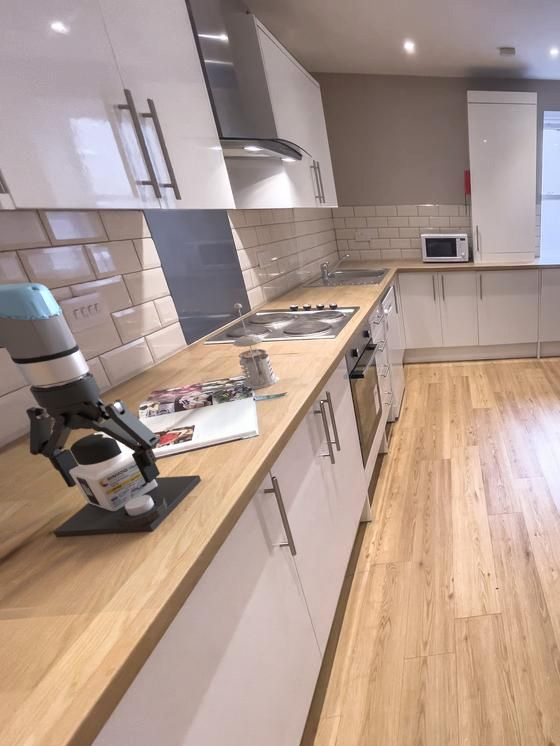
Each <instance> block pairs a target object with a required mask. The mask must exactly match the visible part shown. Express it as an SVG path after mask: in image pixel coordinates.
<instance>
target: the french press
mask: <svg viewBox="0 0 560 746" xmlns="http://www.w3.org/2000/svg"><path fill="white" fill-rule="evenodd" d="M233 308H234V309H238V310H237V311H238V312H239V316H240V319H241V322H242V325H243V329H244V332H245V335H242V336H240V337H237V339H235V340H234V341H233V342H232V346H234V347H236V348H237V347H238V348H245V347H249V348H250V349H249V350H245V351H243V352H240V353H239V355H238V358H239V360H238V363H239V365H240V366H241V367H240V369H241V370H242V371H241V372H242V374H243V378H244V381H245V382H244V383H243V386H246V387H250V388H252V389H251V390H257V389H258V390H259V389H264V388H268V387H271V386H272V385H273V386H274V384H277V382H278V381H280V378H279V377H278V376H276V375H275V373H274V371H273V370H274V369H273V367H272V364H271V360H270V357H269V354H268V353H267V350H265V349H262V348H261V349H260V348H257V347H255V349H252V346H255V345H259V344H260V343H262V342H263V341H264V340H265V338H264V336H261V335H259V334H248V333H247V329H246V326H245V323H244V320H243V316H242V313H241V310H240V309H241V308H243V306H242V304H241V303H237V302H236V303H234V305H233Z"/></svg>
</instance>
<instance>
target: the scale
mask: <svg viewBox="0 0 560 746" xmlns="http://www.w3.org/2000/svg"><path fill="white" fill-rule="evenodd" d="M155 481H156V483H157V487H155V488H154V489H152V490H150V491H149V492H147V493H145V494H144V495H149V496H150V497H151V498H152V500H153V502H154V507H153V508H152V509H151V510H149V511H147V512H145V513H144V514H140V515H137V516H130V515H129V514H128V512H127V510H126V509H125V506H123V507H122V508H120V509H118V510H117V511H110V510H107V509H104V508H101V507H98V506H95V505H92V504H89V503H88V502H87V504H86V505H84V506H83V507H82V508H80V509H79V510H78V511H77V512H75V513H74V514H73V515H72V516H70V517H69V518H68V519H66V521H64V522H63V523H62V524H61V525H59V526H58V527H57V528H56V529H55V530H53V531H52V533H53V534H54V536H55V537H56V538H70V537H85V536H87V537H88V536H102V535H103V536H104V535H119V534H133V533H134V534H135V533H150V532H154V531H155V530H156V529H158V527H159V526H160V525H161V524H162V523H163V522H164V521H165V519H166V518H167V517H168V516H169V515H170V514H171V513H172V512H173V511H174V510H175V509H176V508H177V507H178V506H179V505H180V504H181V503H182V501H184V499H185V498H186V497H188V495H189V494H190V493H192V491H193V490H194V489H195V488H196V487H197V486H198V485H199V484H200V482H201V481H202V479H201V476H200V475H197V474H196V475H180V476H161V477H160V476H158V477H156V478H155ZM142 496H143V495H142Z"/></svg>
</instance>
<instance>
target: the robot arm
mask: <svg viewBox="0 0 560 746" xmlns="http://www.w3.org/2000/svg"><path fill="white" fill-rule="evenodd" d="M3 348H4V349H5V350H6V351H7V352H8V354H9V355H10V359H11V360H12V362H13V363H14V365H15V367H16V369H17V371H18V372H19V375H20V376H21V378H22V380H23V381H24V383H25V385H27V386H30V388H29V392H30V393H31V394H32V396H33V398H34V400H35V401H36V403H37V404H35V405H33V406H31V407H30V408H27V409H26V411H25V412H26V414H27V417H28V418H29V453H30V454H31V455H32V456H38V455H42V456H43V457H45V458H47V459H49V461H50V463H51V464H52V465H51V466H52V467H53V468H54V469H55V470H56V471H58V472H59V474H60V476H61V477H62V479H63V480H64V482H65V484H66V486H67V487H68V488H74V487H75V486H77V484H76V483H75V481H74V479H73V478H72V476H71V474H70V473H69V471H70V470H71V469H73V468H75V467H77V466H79V464H78V462H77V461H76V459H75V457H74V456H73V454H72V452H71V450H70V448H69V449H65V448H67V446H66V443H67V441H68V439H69V437H70V435H71V433H72V431H76V430H81V429H82V430H94V431H95V432H97V433H98V432H104V433H105V434H107V435H108V436H110V437H112V438H113V439H115V440H117V441H118V442H120V443H122V444H123V445H125V447H126V448H129V449H130V450H132V452H133V451H134V453H133V454H132V456H133V458H134V460H135V462H136V464H137V466H138V468H139V470H140V472H141V474H142V476H143V478H144V480H145V482H146V483H151V482H152V481H153V480H154V479H155V478H158V477H159V476H160V475H161V473H160V470H159V469H158V465H157V464H156V462H157V457H156V455H155V453H154V450H153V449H152V448H154V447H155V446H156V445H158V444H159V443H160V442H161V438H160V437H159V436H158V435H157V434H155V432H153V431H152V430H151V429H150V428H149V427H148V426H147V425H145V423H143V422H142V421H141V420H140V419H139V418H138V417H136V415H134V414H133V413H132V412H131V411H130V410H129V409H128V407H127V406H126V404H125V403H124V400H121V399H118V398H117V399H116V400H114V401H111V402H107V403H105V402H104V401H102V400H101V398H100V393H101V389H100V386H99V384H98V382H97V380H96V379H95V377H94V375H93V373H90V372H89V371H90V367H89V365H88V362H87V361H86V359H85V357H84V355H83V353H82V351H81V349H80V348H79V345H78V344H77V341H76V340H75V337H74V335H73V333H72V331H71V329H70V327H69V325H68V323H67V321H66V319H65V316H64V314H63V310H62V307H61V306H60V305H59V304H58V302H57V301H56V299H55V298H54V296H53V294H52V293H51V291H50V289H49V288H48V287H47V286H45V285H43V284H41V283H38V282H20V283H7V284H0V349H3ZM53 419H54V423H52V421H53ZM52 424H53V426H52Z"/></svg>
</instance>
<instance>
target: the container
mask: <svg viewBox="0 0 560 746" xmlns="http://www.w3.org/2000/svg"><path fill="white" fill-rule="evenodd" d="M69 450H70V452H71V453H72V455H73V457H74V459H75V460H76V462H77V464H78V465H79V466H77V467H75V468H73V469H71V470H70V471H69V473H70V474H71V476H72V478H73V479H74V481H75V483H76V486H77V487H78V489H79V491H80V493H81V494H82V496H83V498H84V499H85V500H86V503H87V504H88V503H89V504H92V505H95V506H98V507H101V508H104V509H107V510H110V511H117V510H118V509H120V508H122V507H123V506H125V505H126V503H127V502H129V501H130V500H132V499H134V498H136V497H139V496H142V495H144V494H145V493H147V492H149V491H150V490H152V489H154V488H155V487H157V483H156V481H155V479H154V480H153V481H152V482H151V483H146V482H145V480H144V478H143V476H142V474H141V472H140V470H139V468H138V466H137V464H136V462H135V460H134V458H133V456H132V454H133V453H134V452H135V451H134V452H133V451H129V450H128V449H127V446H125V445H123V444H122V443H120V442H118V441H117V440H115V439H113V438H112V437H110V436H108V435H107V434H105V433H104V432H98V431H97V432H95V433H91V434H88V435H86V436H83V437H81V438H79V439H78V440H76V441H75V442H73V444H72V445H71V446H70V448H69Z"/></svg>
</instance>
